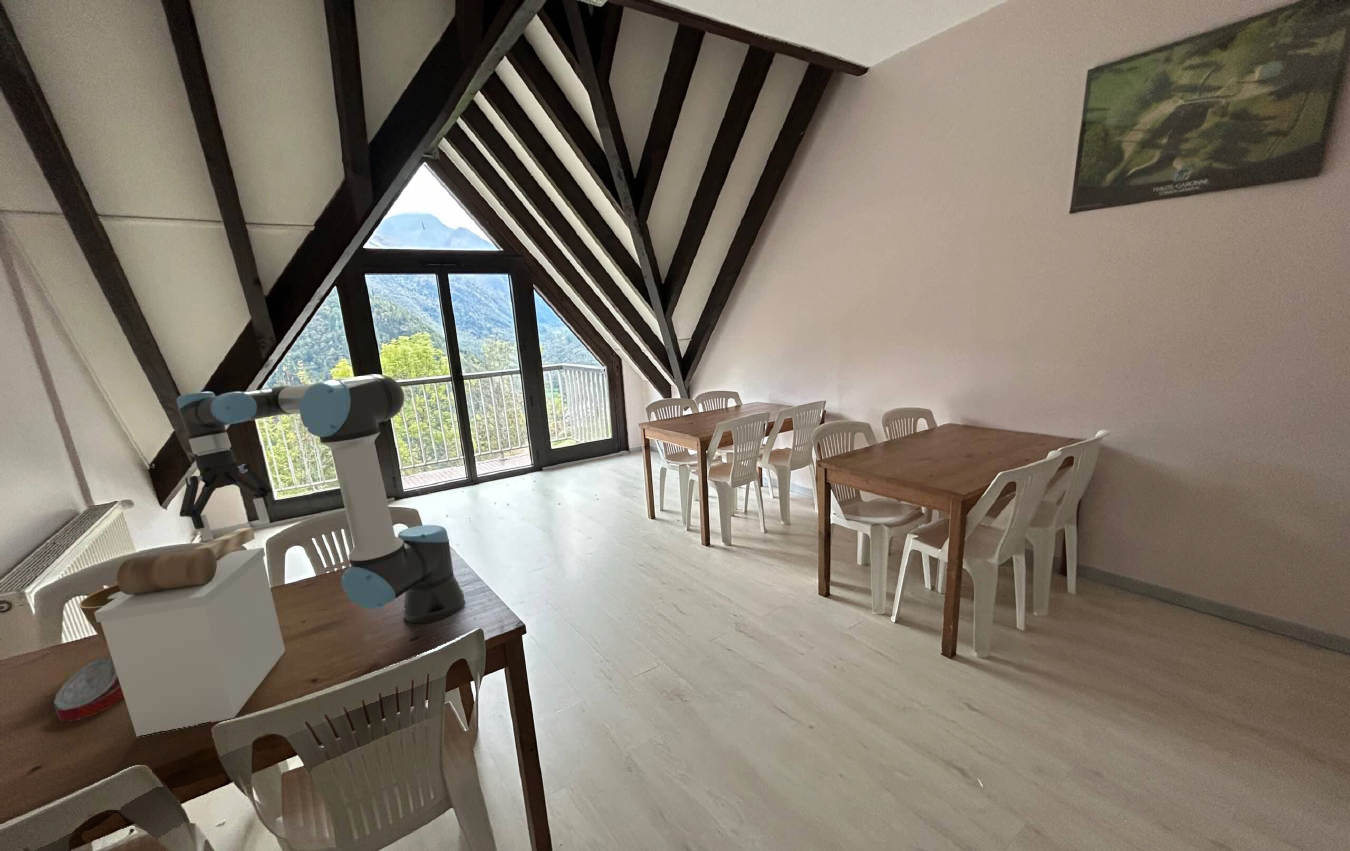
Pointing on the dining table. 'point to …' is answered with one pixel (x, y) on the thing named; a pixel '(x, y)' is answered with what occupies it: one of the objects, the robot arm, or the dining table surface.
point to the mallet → (178, 565)
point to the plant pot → (97, 607)
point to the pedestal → (194, 645)
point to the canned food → (89, 690)
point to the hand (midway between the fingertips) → (237, 530)
